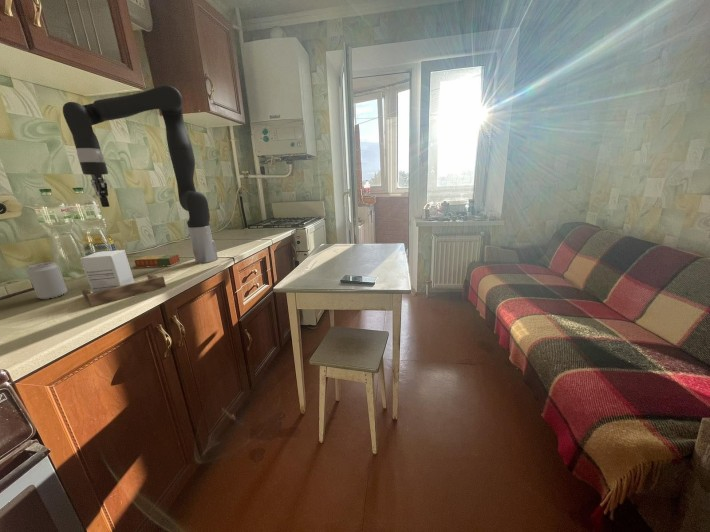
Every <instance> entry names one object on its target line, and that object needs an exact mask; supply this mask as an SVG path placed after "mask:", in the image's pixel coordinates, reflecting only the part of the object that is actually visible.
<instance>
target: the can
mask: <svg viewBox="0 0 710 532" xmlns="http://www.w3.org/2000/svg"><path fill="white" fill-rule="evenodd" d="M26 273H27V274H28V277H29V281H30V282H31V284H32V287H33V289H34V291H35V294H36V296H37V298H38V299H41V300H50V299H49V298H52V299H55V298H54V297H56V298H59V297H58V296H60V297H61V295H62V296H64V295H65V294H66V293H67V292H68V288H67V285H66V283H65V280H64V277H63V274H62V272H61V269H60V266H59V265H57V264H55V262H54V261H53V262H52V261H50V262H49V261H47V262H41V263H35V264H31V265H29V266H28V270H27V272H26ZM63 294H64V295H63Z"/></svg>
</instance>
